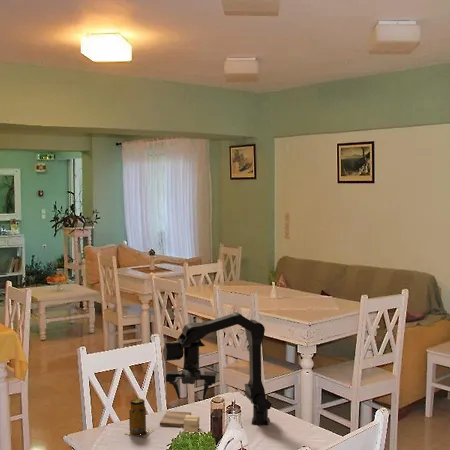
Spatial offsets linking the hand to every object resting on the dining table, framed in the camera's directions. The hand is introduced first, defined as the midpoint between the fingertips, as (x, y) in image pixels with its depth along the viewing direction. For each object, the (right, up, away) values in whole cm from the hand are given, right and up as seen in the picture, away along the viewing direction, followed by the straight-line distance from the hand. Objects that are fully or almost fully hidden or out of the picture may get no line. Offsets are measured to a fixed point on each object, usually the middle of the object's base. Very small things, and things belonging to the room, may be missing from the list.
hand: (191, 399), depth 227 cm
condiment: (-19, -12, 0) cm, 23 cm away
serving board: (-7, -11, +11) cm, 17 cm away
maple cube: (0, -12, +1) cm, 12 cm away
